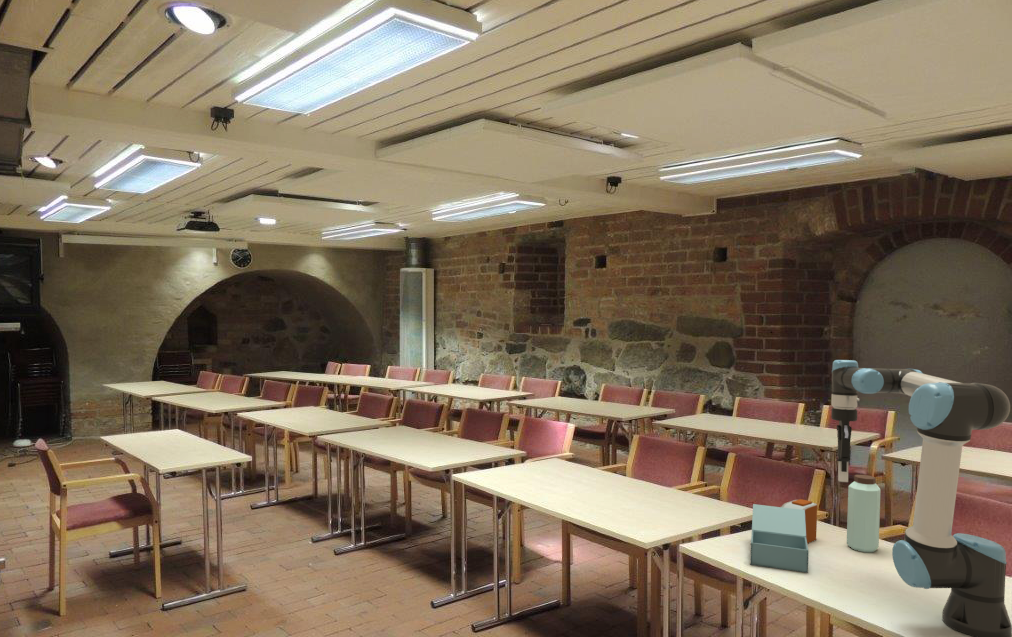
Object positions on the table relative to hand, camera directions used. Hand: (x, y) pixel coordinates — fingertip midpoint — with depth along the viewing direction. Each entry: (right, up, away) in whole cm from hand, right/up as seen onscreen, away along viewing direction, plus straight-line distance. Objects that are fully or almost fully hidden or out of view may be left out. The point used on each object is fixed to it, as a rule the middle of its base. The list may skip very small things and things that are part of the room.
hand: (843, 481), depth 225 cm
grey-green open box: (-20, -27, +3) cm, 33 cm away
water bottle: (+15, -28, +18) cm, 36 cm away
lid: (-15, -17, +16) cm, 27 cm away
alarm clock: (-5, -27, +25) cm, 37 cm away
